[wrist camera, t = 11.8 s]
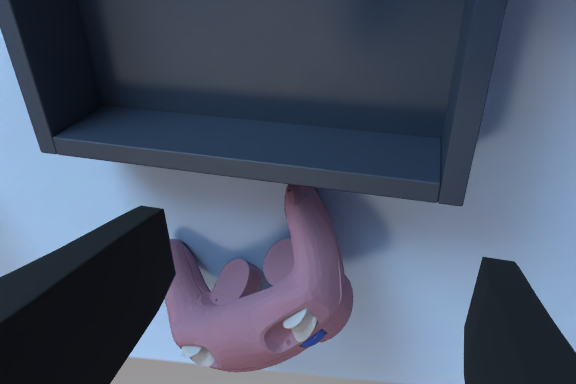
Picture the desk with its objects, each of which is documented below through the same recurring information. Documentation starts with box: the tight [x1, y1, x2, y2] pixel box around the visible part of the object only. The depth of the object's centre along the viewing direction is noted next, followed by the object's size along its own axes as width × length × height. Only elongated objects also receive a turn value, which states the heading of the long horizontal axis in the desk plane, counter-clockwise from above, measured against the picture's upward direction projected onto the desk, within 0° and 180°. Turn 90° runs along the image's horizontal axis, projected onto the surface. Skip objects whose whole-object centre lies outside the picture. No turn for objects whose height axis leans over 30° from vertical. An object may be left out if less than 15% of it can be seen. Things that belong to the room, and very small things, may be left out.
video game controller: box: [164, 184, 353, 372], centre depth 22 cm, size 10×5×7 cm, turn 125°
